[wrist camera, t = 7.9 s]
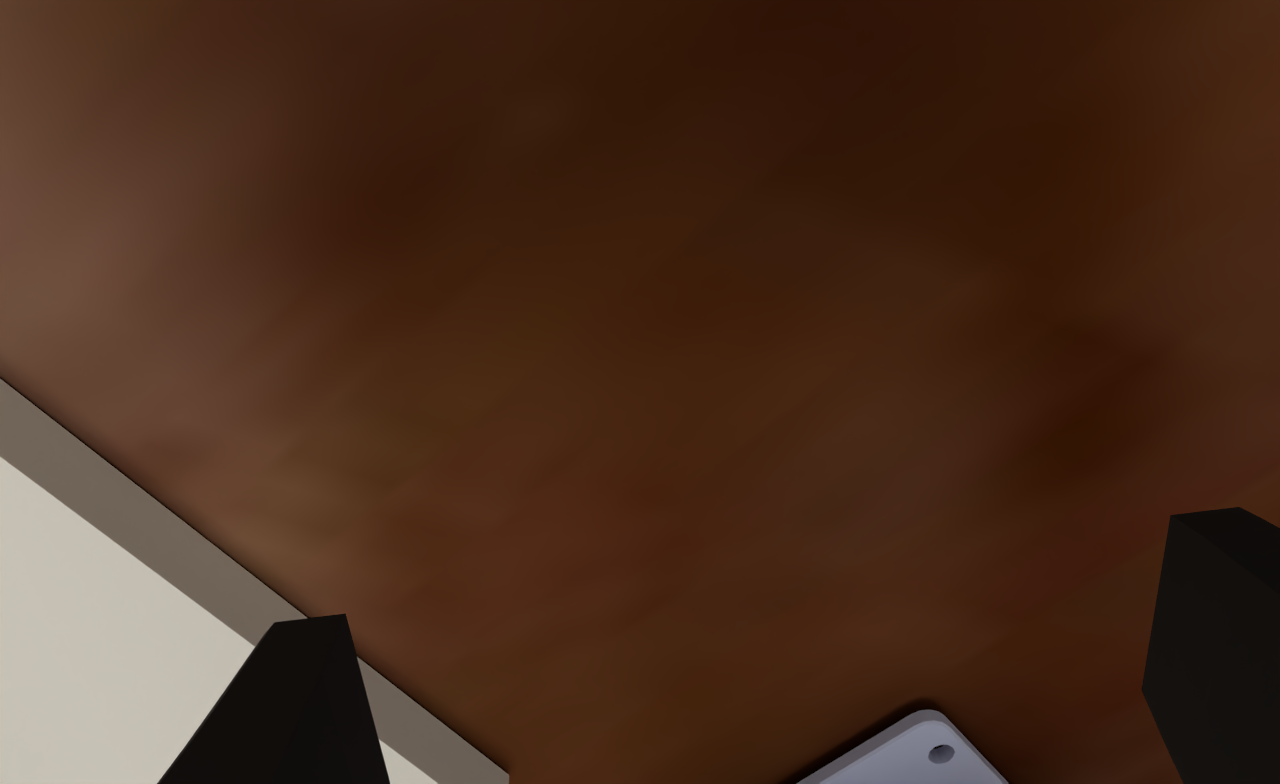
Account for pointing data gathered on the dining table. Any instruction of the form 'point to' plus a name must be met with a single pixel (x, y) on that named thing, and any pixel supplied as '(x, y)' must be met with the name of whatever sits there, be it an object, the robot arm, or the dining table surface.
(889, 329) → the dining table surface
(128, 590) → the gear board
